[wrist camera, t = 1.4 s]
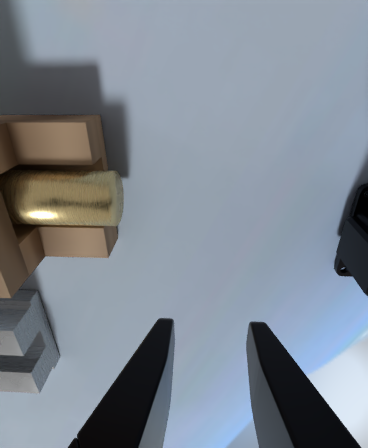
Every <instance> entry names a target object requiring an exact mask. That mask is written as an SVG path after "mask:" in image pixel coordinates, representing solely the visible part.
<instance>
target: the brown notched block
mask: <svg viewBox="0 0 368 448" xmlns="http://www.w3.org/2000/svg"><path fill="white" fill-rule="evenodd" d="M7 170H78V171H108V165H107V158H106V151H105V144H104V137H103V130H102V123H101V116H100V115H0V174H1V173H3V172H5V171H7ZM117 239H118V235H117V228H116V226H91V225H41V224H12V223H11V220H10V217H9V214H8V212H7V209H6V206H5V203H4V200H3V197H2V194H1V191H0V298H12V297H13V295H14V294H15V293H16V292H17V291H18V289H19V288H20V287H21V286H22V284H23V283H24V282H25V281H26V279H27V278H28V277H29V276H30V275H31V273H32V272H33V271H34V270H35V268H36V267H37V266H38V265H39V263H40V262H41V261H42V260H43V259H44V257H45V256H56V257H94V258H109V256H110V254H111V252H112V249H113V247H114V245H115V243H116V241H117Z"/></svg>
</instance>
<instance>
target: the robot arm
mask: <svg viewBox="0 0 368 448" xmlns="http://www.w3.org/2000/svg"><path fill="white" fill-rule="evenodd" d="M366 191H368V183H367V184H363V185H361V186H360V187H359V188H358V190H357V192H356V196H355V199H354V202H353V206H352V209H351V212H350V216H349V217H348V218H347V219H346V221H345V224H344V228H343V231H342V234H341V238H340V241H339V245H338V248H337V254H338V256H337V259H336V262H335V266H334V269H335V271H336V273H337V274H338V275H339V276H353V277H354V279H355V280H356V282H357V283H358V285H359V286H360V288H361V289H362V290H363V292H364V293H365V294H366V295H367V296H368V194H367V195H364V194H365V192H366ZM343 267H345V268H344V269H342V268H343ZM341 269H342V270H341ZM174 347H175V335H174V320H173V319H170V318H160V319H158V320H157V322H156V323H155V324H154V326H153V327H152V329H151V330H150V332H149V333H148V334H147V336H146V337H145V339H144V340H143V342H142V343H141V344H140V346H139V347H138V349H137V350H136V351H135V353H134V354H133V356H132V357H131V359H130V360H129V361H128V363H127V364H126V366H125V367H124V369H123V370H122V371H121V373H120V374H119V376H118V377H117V379H116V380H115V381H114V383H113V384H112V386H111V387H110V388H109V390H108V391H107V393H106V394H105V396H104V397H103V398H102V400H101V401H100V403H99V404H98V406H97V407H96V408H95V410H94V411H93V413H92V414H91V416H90V417H89V418H88V420H87V421H86V423H85V424H84V425H83V427H82V428H81V430H80V431H79V433H78V434H77V438H74V439H73V441H72V442H71V444H70V445H69V447H68V448H162V447H163V442H164V436H165V431H166V425H167V420H168V415H169V408H170V401H171V389H172V375H173V361H174ZM246 350H247V362H248V374H249V385H250V397H251V406H252V413H253V419H254V424H255V429H256V434H257V439H258V444H259V448H361V447H360V445H359V444H358V443H357V441H356V440H355V439H354V438H353V437H352V435H351V434H350V432H349V431H348V430H347V428H346V427H345V426H344V425H343V423H342V422H341V421H340V419H339V418H338V417H337V416H336V414H335V413H334V411H333V410H332V409H331V408H330V407H329V405H328V404H327V402H326V401H325V400H324V398H323V397H322V396H321V395H320V394H319V392H318V391H317V389H316V388H315V387H314V385H313V384H312V383H311V382H310V380H309V379H308V378H307V376H306V375H305V374H304V372H303V371H302V370H301V368H300V367H299V366H298V365H297V363H296V362H295V361H294V359H293V358H292V357H291V355H290V354H289V353H288V352H287V350H286V349H285V348H284V346H283V345H282V344H281V342H280V341H279V340H278V338H277V337H276V336H275V335H274V333H273V332H272V331H271V329H270V328H269V327H268V325H267V324H266V323H264V322H250V323H249V327H248V335H247V342H246Z"/></svg>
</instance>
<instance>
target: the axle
mask: <svg viewBox="0 0 368 448" xmlns="http://www.w3.org/2000/svg"><path fill="white" fill-rule="evenodd" d="M0 191H1V194H2V197H3V200H4V203H5V206H6V209H7V212H8V214H9V217H10V220H11V223H12V224H41V225H91V226H117V225H118V224H119V223H120V220H121V217H122V213H123V203H124V195H123V185H122V180H121V177H120V175H119V173H118V172H117V171H78V170H7V171H5V172H3V173H1V174H0Z"/></svg>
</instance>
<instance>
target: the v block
mask: <svg viewBox="0 0 368 448" xmlns="http://www.w3.org/2000/svg"><path fill="white" fill-rule="evenodd" d="M59 358H60V355H59V352H58V349H57V346H56V343H55V340H54V338H53V335H52V332H51V329H50V326H49V323H48V320H47V317H46V314H45V311H44V308H43V305H42V302H41V299H40V296H39V293H38V290H18V291H17V292H16V293H15V294H14V295H13V297H12V298H0V391H4V392H22V393H40V392H41V390H42V388H43V386H44V384H45V382H46V380H47V378H48V375H49V373H50V371H51V369H54V368H55V366H56V364H57V362H58V360H59Z"/></svg>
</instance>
